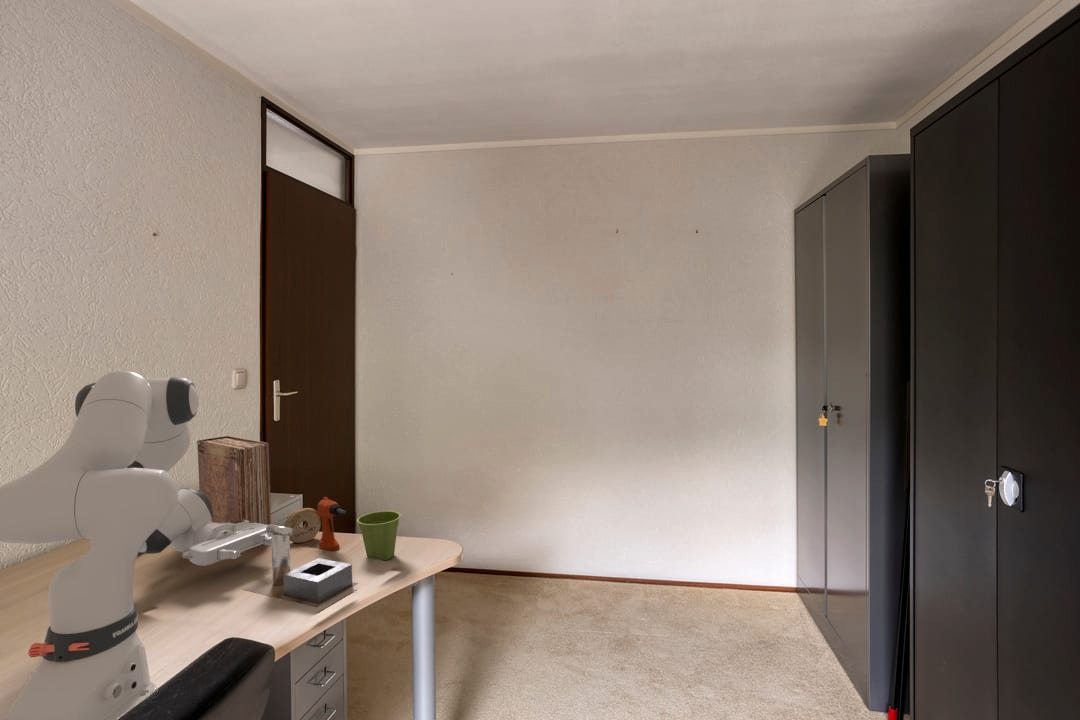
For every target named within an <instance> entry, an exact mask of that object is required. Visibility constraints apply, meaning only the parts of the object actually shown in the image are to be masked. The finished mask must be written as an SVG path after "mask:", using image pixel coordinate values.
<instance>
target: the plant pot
mask: <svg viewBox="0 0 1080 720" xmlns="http://www.w3.org/2000/svg"><path fill="white" fill-rule="evenodd" d="M401 517H402V514H401V513H400V512H398V511H393V510H379V511H373V512H368V513H365V514H362V515H360V516H359V517H358V518H357V519H356V523H358V525H359V529H360V532H361V536H362V539H363V540H362V541H363V544H364V549H365V552H366V558H367V559H371V560H377V561H383V562H384V561H389V560H390V559H392V558H393V556H394V555H395V551H396V550H395V549H396V543H397V533H398V532H397V531H398V527H399V522H400V519H401Z"/></svg>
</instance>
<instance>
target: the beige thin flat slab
mask: <svg viewBox="0 0 1080 720" xmlns="http://www.w3.org/2000/svg"><path fill="white" fill-rule="evenodd" d="M292 570H293V569H291V571H292ZM358 584H359V583H358V582H353V581H352V585H351V586H349V587H348V588H346V589H344V590H342V591H341V592H339V593H337V594H335V595H334V596H332V597H330V598H328V599H327V600H325V601H323V602H322V603H320V604H316V603H312V602H308V601H303V600H299V599H295V598H290V597H286V596H284V585H281V586H275V585H273V574H271V575H268V576H266V577H264V578H262V579H260V580H258V581H256V582H253V583H251V584H250V585H247V586H245V587H242V588H241V590H242V591H247V592H250V593H255V594H259V595H263V596H267V597H272V598H277V599H280V600H283V601H289V602H292V603H297V604H302V605H306V606H311V607H316V608H318V607H321V606H322V605H323V604H325V603H327V602H329V601H330V600H332V599H334V598H336V597H337V596H339V595H340V594H342V593H344V592H346V591H348V590H349V589H352V588H354V587H355V586H356V585H358ZM354 591H355V592H356V591H357V589H355V590H353V591H352V592H350V593H349V594H347V595H345V596H343V597H342V598H340V599H338V600H337V601H334V602H333V603H331V604H329V605H328V606H326V607H325V608H323V609H321V610H319V611H317V613H318V614H319V613H321V612H322V611H324V610H326V609H328V608H329V607H331V606H333V605H334V604H336V603H338V602H339V601H341V600H342V599H344V598H346V597H348V596H350V595H351V594H352V593H355V592H354Z"/></svg>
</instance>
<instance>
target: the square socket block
mask: <svg viewBox="0 0 1080 720" xmlns="http://www.w3.org/2000/svg"><path fill="white" fill-rule="evenodd" d="M291 570H292V571H290V572H288V573H286V574H284V575H283V578H284V596H286V597H290V598H295V599H299V600H303V601H308V602H312V603H316V604H320V603H322V602H323V601H325V600H327V599H328V598H330V597H332V596H334V595H335V594H337V593H339V592H341V591H342V590H344V589H346V588H348V587H349V586H351V585H352V582H353V566H352V563H347V562H341V561H336V560H330V559H325V558H320V557H318V558H315V559H314V560H311V561H310V562H308V563H305V564H303V565H301V566H298V567H297V568H295V569H291Z"/></svg>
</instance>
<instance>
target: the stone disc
mask: <svg viewBox="0 0 1080 720" xmlns="http://www.w3.org/2000/svg"><path fill="white" fill-rule="evenodd" d="M303 522H305V524H304V525H303V526H302V527H301V526H300V525H301V524H302V523H303ZM321 526H322V521H321V517H320V516H319V515H318V511H317V510H316V509H315V508H311V507H304V508H299V509H295V510H292V511H291V512H290V513H289V514H288V516H287V518H286V520H285V521H284V527H288V528H293V530H294V533H293V534H292V535H291V536H289V539H290V542H292V543H294V544H296V543H297V544H299V543H300V544H301V543H302V544H303V543H306V542H310V541H312V540H313V539H314V538H316V537H317V535H318V533H319V532H320V529H321Z"/></svg>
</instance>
